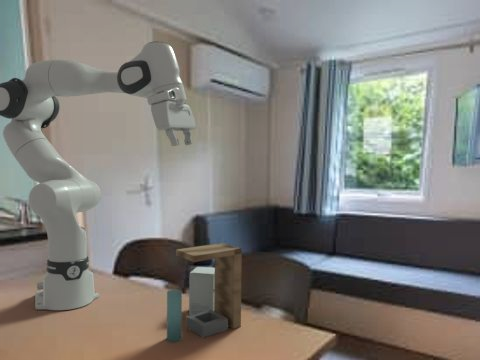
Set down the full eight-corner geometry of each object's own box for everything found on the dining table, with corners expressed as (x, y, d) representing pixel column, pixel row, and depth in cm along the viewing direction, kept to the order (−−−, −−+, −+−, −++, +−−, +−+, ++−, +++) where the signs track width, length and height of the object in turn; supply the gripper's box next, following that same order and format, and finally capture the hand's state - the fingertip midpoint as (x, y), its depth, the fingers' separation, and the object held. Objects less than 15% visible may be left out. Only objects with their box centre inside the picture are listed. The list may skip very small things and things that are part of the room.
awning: (175, 329, 102) (176, 249, 101) (221, 316, 112) (222, 242, 111) (193, 341, 95) (194, 256, 94) (240, 326, 105) (241, 248, 104)
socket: (186, 327, 104) (186, 316, 104) (211, 320, 109) (211, 309, 109) (202, 337, 97) (202, 326, 97) (228, 329, 103) (228, 318, 102)
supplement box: (212, 317, 111) (213, 274, 110) (188, 315, 112) (188, 272, 112) (219, 308, 118) (219, 267, 117) (196, 306, 119) (196, 265, 119)
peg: (164, 338, 97) (164, 291, 97) (176, 334, 99) (177, 288, 99) (171, 343, 94) (171, 295, 94) (184, 339, 97) (184, 292, 96)
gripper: (176, 103, 121) (187, 146, 122) (143, 98, 102) (156, 149, 102) (194, 98, 119) (205, 141, 120) (164, 91, 100) (177, 143, 100)
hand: (182, 145), depth 111 cm, fingers open, 8 cm apart
